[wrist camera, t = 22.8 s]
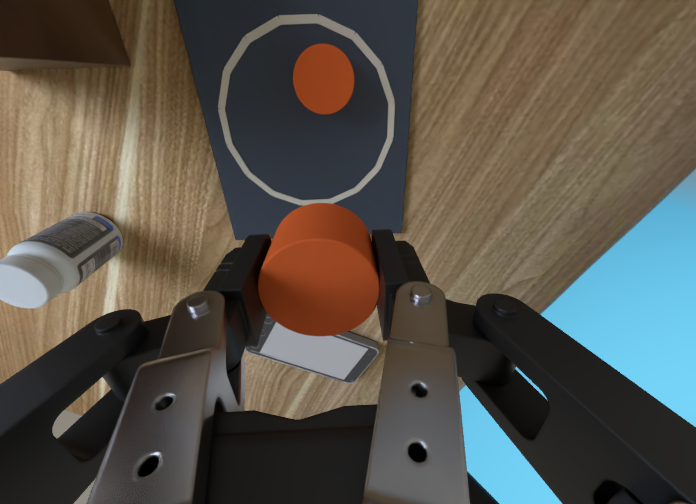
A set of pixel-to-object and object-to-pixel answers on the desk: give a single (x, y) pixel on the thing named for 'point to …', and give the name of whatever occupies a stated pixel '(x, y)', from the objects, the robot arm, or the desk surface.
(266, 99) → the dark mat with ring
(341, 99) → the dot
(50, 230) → the pill bottle
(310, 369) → the smartphone
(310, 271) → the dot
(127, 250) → the desk surface
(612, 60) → the desk surface
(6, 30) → the desk cube
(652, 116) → the desk surface
